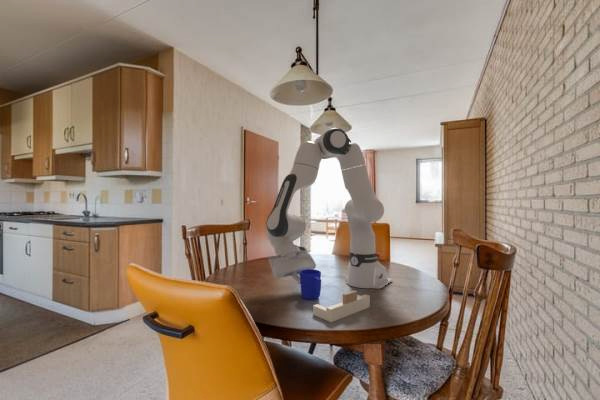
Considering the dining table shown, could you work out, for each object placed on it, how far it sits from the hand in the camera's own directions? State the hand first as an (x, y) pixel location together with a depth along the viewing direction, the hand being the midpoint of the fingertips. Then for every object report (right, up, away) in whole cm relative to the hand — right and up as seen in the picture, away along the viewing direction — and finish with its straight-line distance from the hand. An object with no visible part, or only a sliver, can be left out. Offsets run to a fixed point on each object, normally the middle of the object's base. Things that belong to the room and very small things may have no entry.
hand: (302, 282), depth 115 cm
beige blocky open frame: (+13, -5, -16) cm, 21 cm away
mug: (+4, -5, -4) cm, 8 cm away
